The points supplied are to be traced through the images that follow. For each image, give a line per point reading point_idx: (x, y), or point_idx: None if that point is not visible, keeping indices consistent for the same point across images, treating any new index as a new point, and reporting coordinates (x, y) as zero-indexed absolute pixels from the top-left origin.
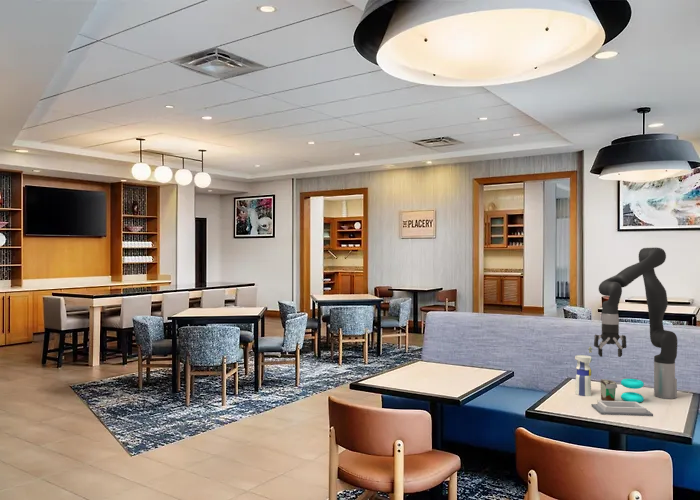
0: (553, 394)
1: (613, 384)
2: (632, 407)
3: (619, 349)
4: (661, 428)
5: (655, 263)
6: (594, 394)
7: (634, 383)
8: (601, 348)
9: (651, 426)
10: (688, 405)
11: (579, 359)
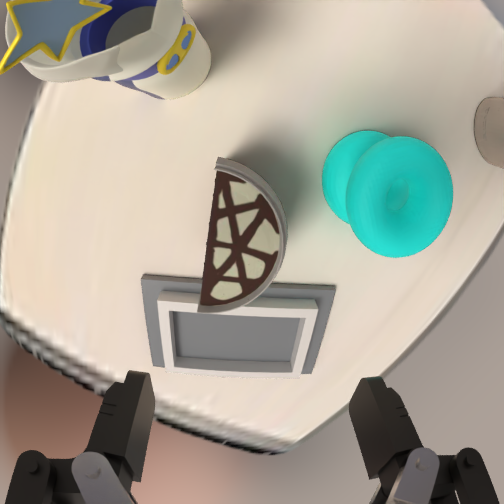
0: (43, 95)
1: (244, 303)
2: (257, 374)
3: (370, 478)
4: (267, 432)
5: None
6: (231, 57)
7: (388, 255)
8: (127, 488)
9: (252, 426)
10: (487, 246)
11: (25, 66)
